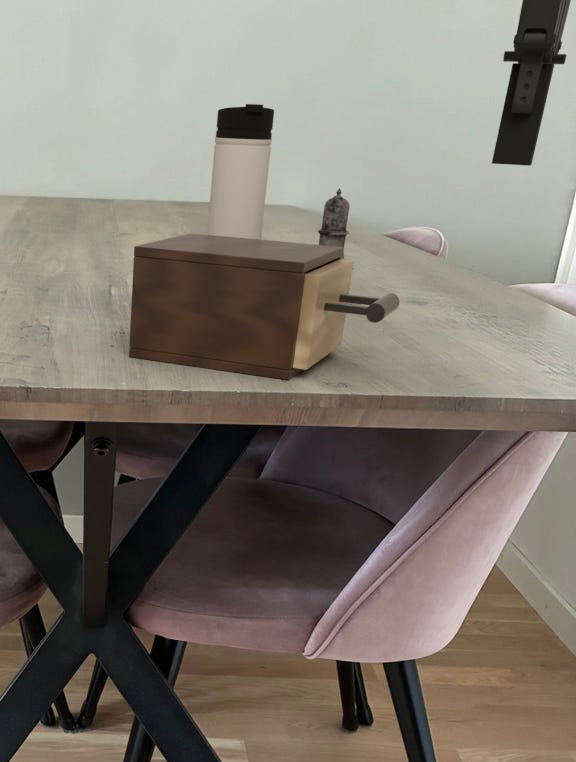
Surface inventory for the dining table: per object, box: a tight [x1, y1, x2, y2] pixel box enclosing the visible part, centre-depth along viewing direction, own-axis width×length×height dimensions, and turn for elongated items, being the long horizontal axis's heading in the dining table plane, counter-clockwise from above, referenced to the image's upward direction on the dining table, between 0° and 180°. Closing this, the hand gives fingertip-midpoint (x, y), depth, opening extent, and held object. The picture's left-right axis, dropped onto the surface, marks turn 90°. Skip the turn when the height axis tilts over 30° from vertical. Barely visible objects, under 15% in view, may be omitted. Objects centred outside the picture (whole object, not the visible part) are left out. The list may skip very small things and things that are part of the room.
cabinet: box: [128, 232, 345, 381], centre depth 84 cm, size 15×13×9 cm
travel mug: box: [206, 103, 275, 240], centre depth 109 cm, size 6×7×20 cm
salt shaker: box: [317, 188, 354, 270], centre depth 112 cm, size 6×6×12 cm
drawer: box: [293, 258, 400, 371], centre depth 82 cm, size 18×11×7 cm, turn 63°
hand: (511, 163), depth 72 cm, fingers closed
